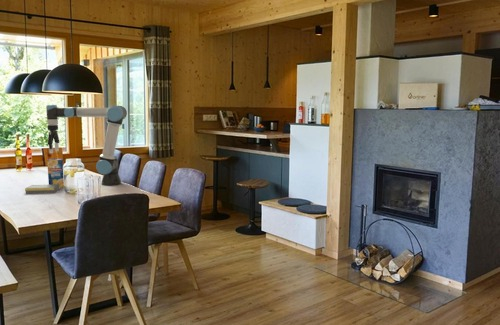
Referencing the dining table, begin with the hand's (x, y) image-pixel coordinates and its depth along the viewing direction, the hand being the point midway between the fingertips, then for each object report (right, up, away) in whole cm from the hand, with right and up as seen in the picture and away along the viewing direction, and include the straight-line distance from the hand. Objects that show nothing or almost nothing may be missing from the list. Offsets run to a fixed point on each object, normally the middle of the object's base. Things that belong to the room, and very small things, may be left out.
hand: (54, 152), depth 346 cm
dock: (-3, -30, -13) cm, 32 cm away
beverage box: (0, -28, +4) cm, 28 cm away
